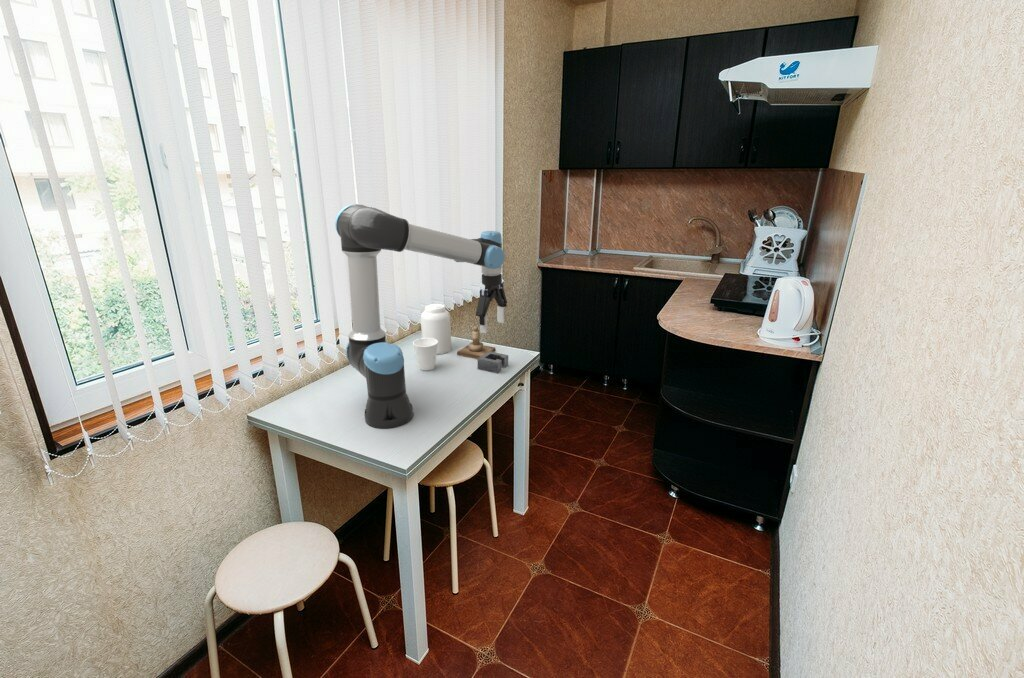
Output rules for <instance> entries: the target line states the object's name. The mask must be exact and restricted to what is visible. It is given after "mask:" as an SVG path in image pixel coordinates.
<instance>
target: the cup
mask: <svg viewBox="0 0 1024 678" xmlns="http://www.w3.org/2000/svg"><path fill="white" fill-rule="evenodd" d="M437 344H438V340H436V339H433V338H422V337H421V338H417V339H415V340H413V341H412V346H413V349H414V352H415V357H416V360H417V365H418V368H419V370H421V371H431V370H433V369H434V368H435V366H436V360H437V358H436V357H437V354H436V351H437Z"/></svg>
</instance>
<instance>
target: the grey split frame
mask: <svg viewBox="0 0 1024 678" xmlns="http://www.w3.org/2000/svg"><path fill="white" fill-rule="evenodd" d="M507 367H509V355H508V354H506V353H500V352H496V351H494V352H491V351H488V352H487V353H485V354H484V355H482V356H481V357H479V358H478V359H477V370H480V371H485V372H490V373H493V374H499V373H501V372H502V369H506V368H507Z"/></svg>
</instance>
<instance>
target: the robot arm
mask: <svg viewBox="0 0 1024 678" xmlns="http://www.w3.org/2000/svg"><path fill="white" fill-rule="evenodd" d="M334 227H335V230H336V232H337V234H338V236H339V238H340V245H341V252H342V253H343V254H345V255H346V257H347V267H348V282H349V292H350V294H349V295H350V306H351V307H350V309H351V319H352V322H351V323H352V331H350V333H348V342H347V344H346V347H345V355H346V359H347V361H348V363H349V364H350V365H351V366H352V367H353V368H354V369H355V370H356V371H357V372H358V373H360V374H361V376H363V378H365V381H366V388H367V396H368V397H367V400H366V405H365V409H364V412H363V414H364V421H365V423H366V424H367V425H368V426H370V427H372V428H377V429H390V428H392V429H393V428H396V427H399V426H402V425H405V424H406V423H408V422H409V421H410V420H411V419H412V418H413V417H414V408H413V405H412V403H411V401H410V398H409V396H408V393H407V389H406V375H405V358H404V355H403V354H404V353H403V351H402V349H401V347H399V346H398V345H397V344H395V343H389V342H387V334H386V332H385V331H384V330H383V329H382V328H381V314H380V296H379V279H378V277H379V275H378V260H377V256H378V255H379V254H380V252H381V251H382V250H385V251H393V252H398V253H401V252H404V251H405V250H406V251H411V252H414V253H418V254H419V253H420V254H423V255H424V254H425V255H430V256H434V257H438V258H439V257H440V258H443V259H449V260H453V261H454V262H455V263H467V264H471V265H476V266H480V267H481V285H484V289H480V290H479V299H478V303H477V307H476V311H475V316H476V317H478V318H479V332H480V333H481V334H488V316H487V312H488V310H489V307H490V304H491V302H492V301H493V299H494V300H495V302H496V304H497V307H496V311H497V312H496V319H497V321H496V322H497V323H499V324H504V323H505V308H506V307H507V306H508V305H507V304H508V299H507V295H506V293H505V289H504V283H503V275H502V274H501V273H502V269H503V264H504V262H505V257H506V256H505V251H504V249H503V241H502V240H503V239H502V233H501V232H499V231H496V230H485V231H482V232H481V233H480V237H478V238H472V239H471V238H470V239H469V238H467V237H466V238H465V237H462V236H458V235H455V234H450V233H447V232H444V231H443V232H442V231H438V230H434V229H431V228H427V227H424V226H423V227H422V226H420V225H415V224H411V223H409V221H408V220H407V219H405V218H402V217H398V216H396V215H393V214H390V213H388V212H386V211H383V210H381V209H379V208H376V207H372V206H366V205H364V204H349V205H346V206H344V207H343V208H341V210H339V212H338V213H337V215H336V217H335V221H334Z"/></svg>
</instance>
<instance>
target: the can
mask: <svg viewBox="0 0 1024 678" xmlns="http://www.w3.org/2000/svg"><path fill="white" fill-rule="evenodd" d="M420 325H421V326H420V327H421V338H433V339H436V340H438V344H437V351H436V355H442V354H446V353H448V352H450V351H451V350H452V331H451V330H452V329H451V315H450V312H449V311H448V310H447V309H446V307H445V305H444V304H440V303H431V304H428V305H425V307H424V311H422V312H421V315H420Z"/></svg>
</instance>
